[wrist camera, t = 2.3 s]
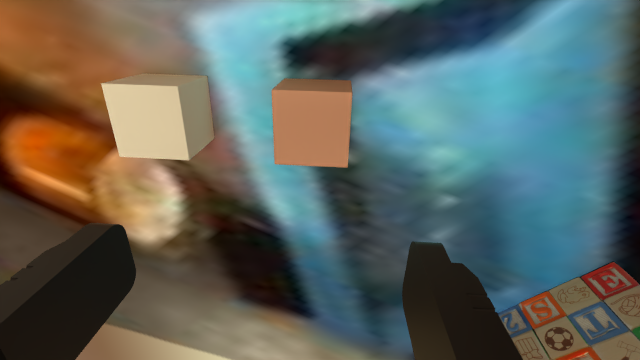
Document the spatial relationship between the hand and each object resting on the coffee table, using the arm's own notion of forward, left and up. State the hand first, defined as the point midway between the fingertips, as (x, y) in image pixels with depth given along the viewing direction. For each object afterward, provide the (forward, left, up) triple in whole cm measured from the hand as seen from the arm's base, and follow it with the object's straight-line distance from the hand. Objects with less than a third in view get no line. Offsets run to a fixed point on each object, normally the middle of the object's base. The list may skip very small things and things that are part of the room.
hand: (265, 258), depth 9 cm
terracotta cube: (0, 0, -18) cm, 18 cm away
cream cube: (+11, 0, -18) cm, 21 cm away
